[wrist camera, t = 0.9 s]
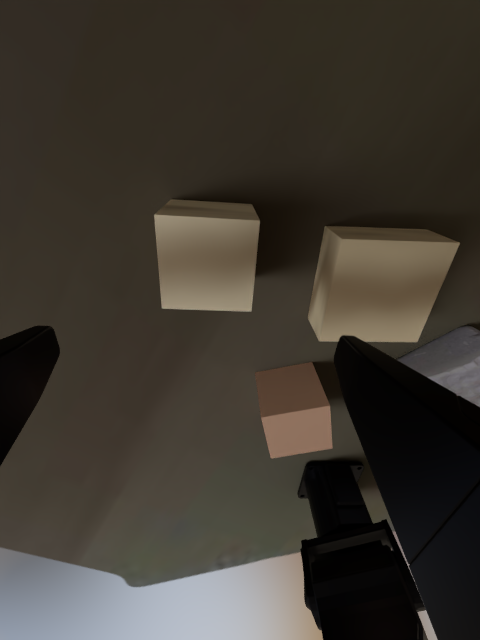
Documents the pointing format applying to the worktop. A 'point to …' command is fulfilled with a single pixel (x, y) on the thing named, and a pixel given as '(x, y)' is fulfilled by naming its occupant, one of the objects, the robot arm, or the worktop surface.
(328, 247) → the oak base block
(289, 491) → the worktop surface
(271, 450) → the terracotta block
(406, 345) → the worktop surface
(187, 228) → the beech block
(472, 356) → the stone block
